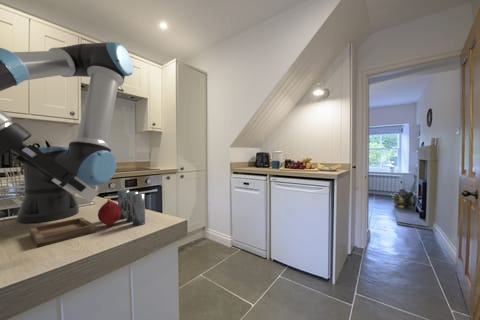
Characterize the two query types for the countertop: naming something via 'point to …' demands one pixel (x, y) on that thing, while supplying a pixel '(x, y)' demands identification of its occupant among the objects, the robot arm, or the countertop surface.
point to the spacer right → (138, 209)
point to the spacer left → (123, 203)
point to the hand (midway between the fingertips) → (85, 194)
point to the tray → (61, 231)
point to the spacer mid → (130, 205)
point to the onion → (109, 213)
